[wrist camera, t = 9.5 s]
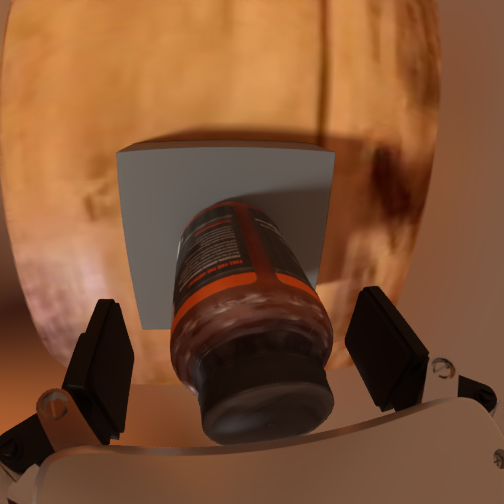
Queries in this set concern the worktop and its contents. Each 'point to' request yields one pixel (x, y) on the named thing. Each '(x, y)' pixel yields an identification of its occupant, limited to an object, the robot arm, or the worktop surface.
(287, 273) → the supplement bottle
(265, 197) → the pedestal
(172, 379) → the worktop surface
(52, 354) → the worktop surface
